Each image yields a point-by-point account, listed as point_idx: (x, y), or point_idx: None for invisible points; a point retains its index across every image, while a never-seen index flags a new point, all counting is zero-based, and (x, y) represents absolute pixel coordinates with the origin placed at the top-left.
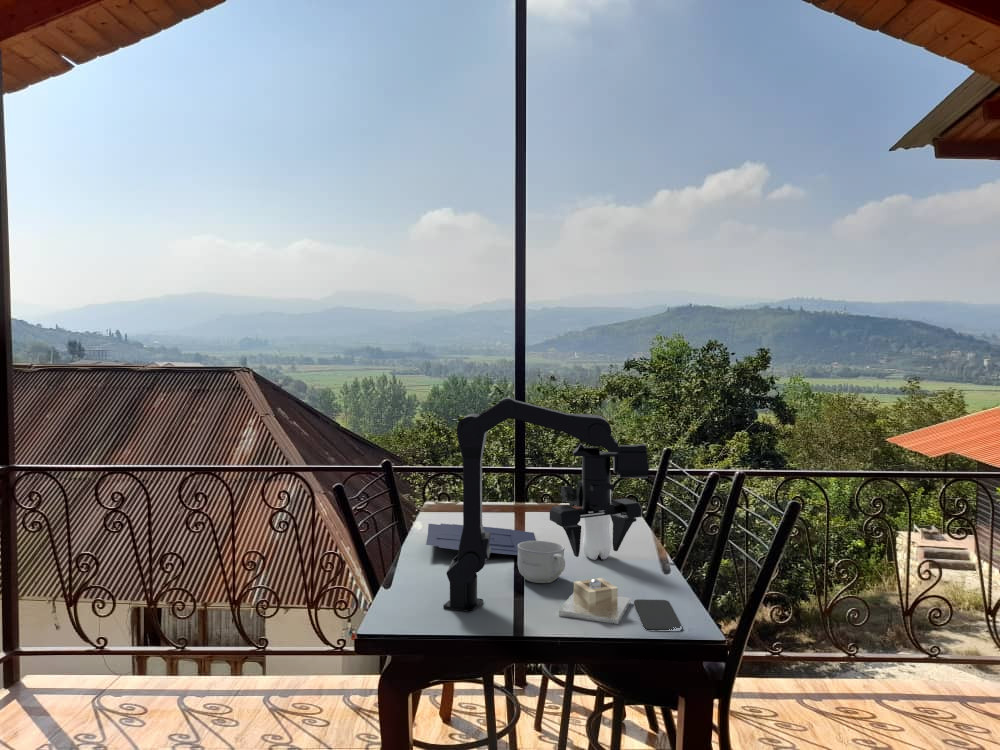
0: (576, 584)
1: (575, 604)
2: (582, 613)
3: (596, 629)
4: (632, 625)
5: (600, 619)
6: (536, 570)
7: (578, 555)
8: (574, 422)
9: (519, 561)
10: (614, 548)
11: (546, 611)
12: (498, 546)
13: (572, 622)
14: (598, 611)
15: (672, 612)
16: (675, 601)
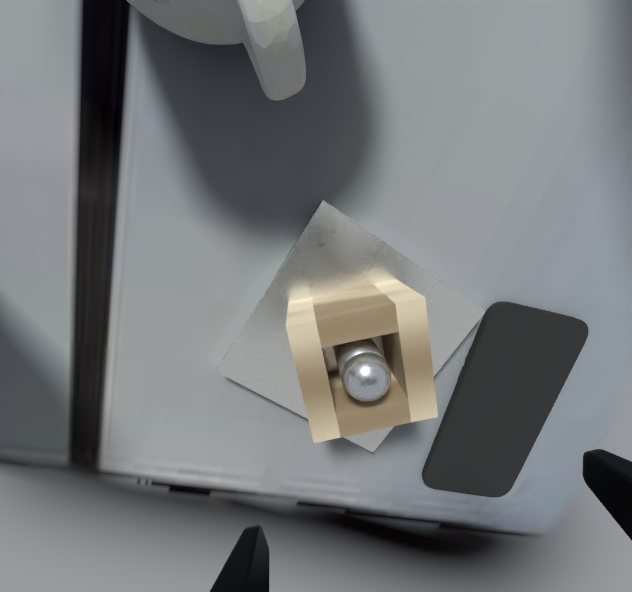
0: (291, 348)
1: (285, 333)
2: (286, 403)
3: (302, 460)
4: (403, 451)
5: None
6: (151, 11)
7: (267, 564)
8: None
9: None
10: (599, 478)
11: (187, 326)
12: None
13: (250, 413)
14: None
15: (545, 408)
16: (612, 319)
